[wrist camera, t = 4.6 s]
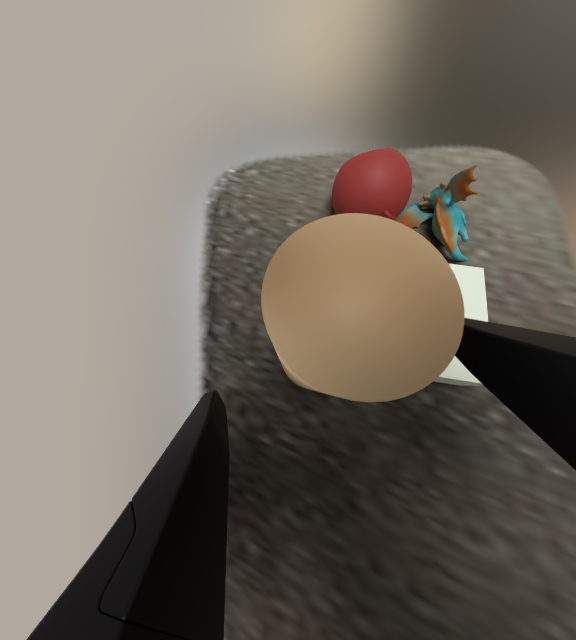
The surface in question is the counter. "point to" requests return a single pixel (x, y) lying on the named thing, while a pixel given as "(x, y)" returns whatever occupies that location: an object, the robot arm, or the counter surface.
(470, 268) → the white block
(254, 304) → the counter surface
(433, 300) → the oak post
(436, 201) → the dragon figurine
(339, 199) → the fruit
